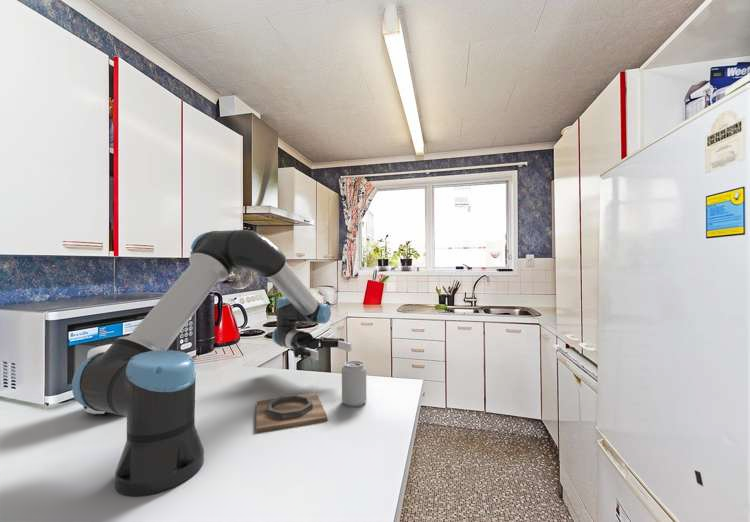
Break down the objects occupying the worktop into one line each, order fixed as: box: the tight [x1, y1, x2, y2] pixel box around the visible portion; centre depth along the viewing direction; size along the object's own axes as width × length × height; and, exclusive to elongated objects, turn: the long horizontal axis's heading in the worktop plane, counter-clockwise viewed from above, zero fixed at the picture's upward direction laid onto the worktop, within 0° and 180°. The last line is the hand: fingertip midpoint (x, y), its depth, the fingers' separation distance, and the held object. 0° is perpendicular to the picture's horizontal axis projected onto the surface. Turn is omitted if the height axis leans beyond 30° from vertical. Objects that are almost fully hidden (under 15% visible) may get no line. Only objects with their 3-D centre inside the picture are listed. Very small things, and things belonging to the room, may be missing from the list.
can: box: [341, 360, 368, 407], centre depth 101 cm, size 8×8×12 cm
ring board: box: [255, 392, 329, 433], centre depth 94 cm, size 18×18×2 cm
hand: (334, 351), depth 108 cm, fingers open, 13 cm apart
